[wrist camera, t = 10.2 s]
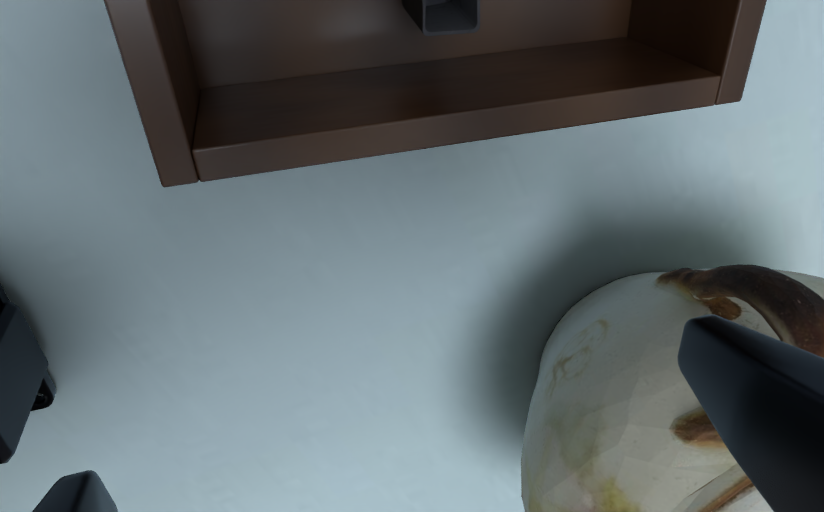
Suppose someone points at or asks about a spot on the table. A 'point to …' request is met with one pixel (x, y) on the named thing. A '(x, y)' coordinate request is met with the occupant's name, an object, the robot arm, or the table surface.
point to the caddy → (409, 74)
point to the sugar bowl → (650, 392)
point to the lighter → (444, 16)
